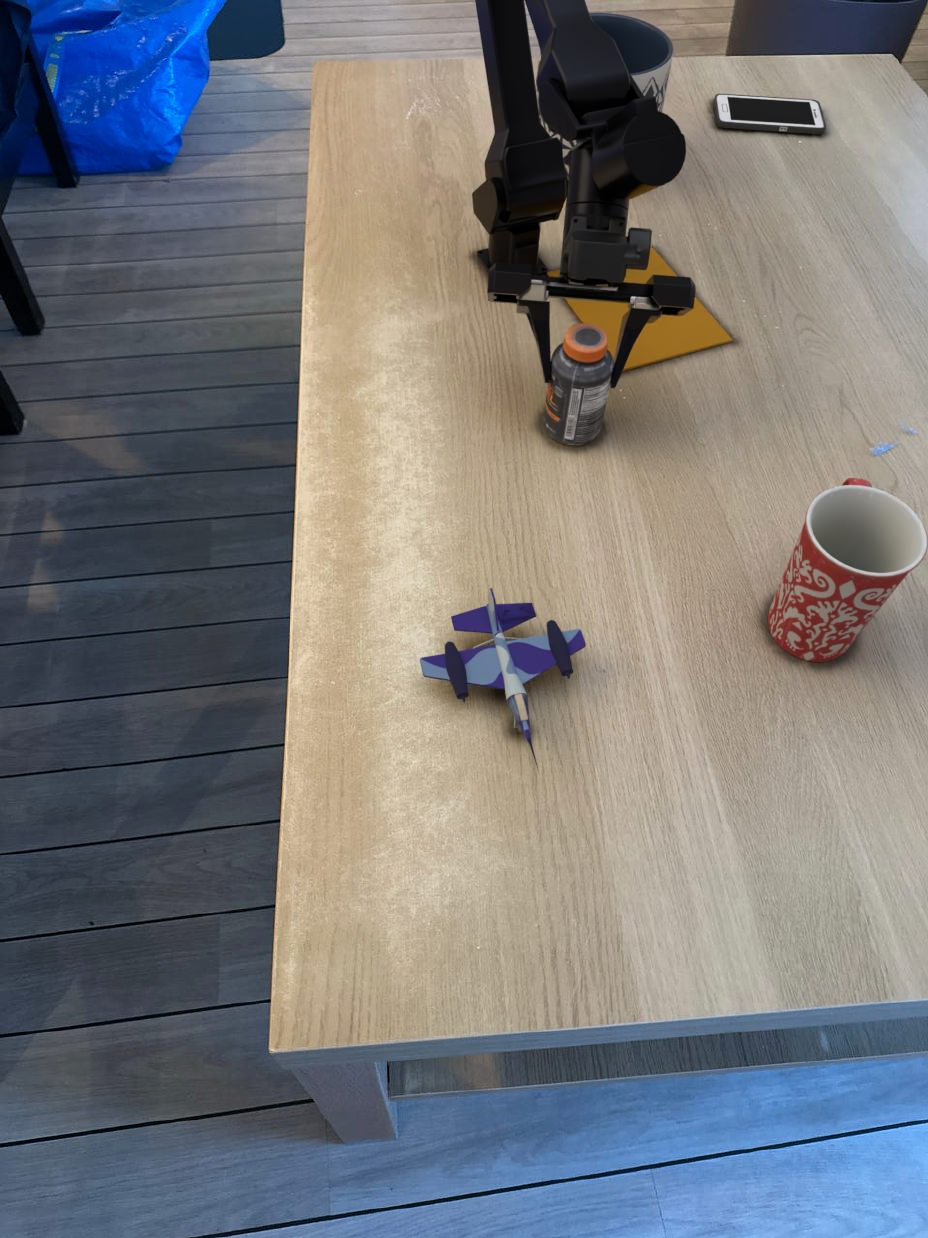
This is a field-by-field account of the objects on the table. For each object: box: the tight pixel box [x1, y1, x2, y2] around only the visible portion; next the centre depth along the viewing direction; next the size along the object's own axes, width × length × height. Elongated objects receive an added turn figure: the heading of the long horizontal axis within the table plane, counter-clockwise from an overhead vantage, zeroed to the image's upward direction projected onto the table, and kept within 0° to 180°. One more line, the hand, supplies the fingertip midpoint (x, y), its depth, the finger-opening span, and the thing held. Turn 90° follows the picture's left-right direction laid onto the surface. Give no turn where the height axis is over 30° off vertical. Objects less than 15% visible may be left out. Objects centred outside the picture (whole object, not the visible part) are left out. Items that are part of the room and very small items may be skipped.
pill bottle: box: [542, 322, 614, 446], centre depth 92 cm, size 6×6×11 cm
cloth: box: [545, 247, 733, 372], centre depth 108 cm, size 18×14×1 cm
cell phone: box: [713, 93, 827, 135], centre depth 132 cm, size 8×15×1 cm, turn 86°
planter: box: [535, 12, 675, 177], centre depth 119 cm, size 16×16×14 cm
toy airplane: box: [419, 587, 587, 776], centre depth 77 cm, size 13×14×4 cm
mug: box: [767, 477, 928, 663], centre depth 79 cm, size 13×9×14 cm
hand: (579, 385), depth 90 cm, fingers closed on pill bottle, 6 cm apart
